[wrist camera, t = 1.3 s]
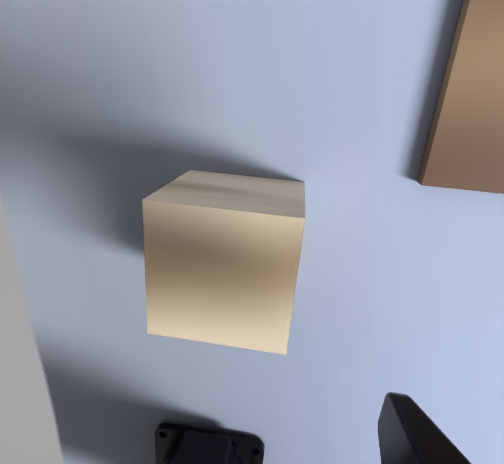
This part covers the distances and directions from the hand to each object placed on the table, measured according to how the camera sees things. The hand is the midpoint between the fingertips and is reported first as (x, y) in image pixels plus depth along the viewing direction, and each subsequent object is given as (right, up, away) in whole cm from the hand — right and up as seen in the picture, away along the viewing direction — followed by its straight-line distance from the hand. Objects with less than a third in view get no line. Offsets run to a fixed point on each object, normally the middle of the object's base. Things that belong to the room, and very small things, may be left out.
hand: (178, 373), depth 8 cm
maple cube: (+1, +3, +8) cm, 9 cm away
